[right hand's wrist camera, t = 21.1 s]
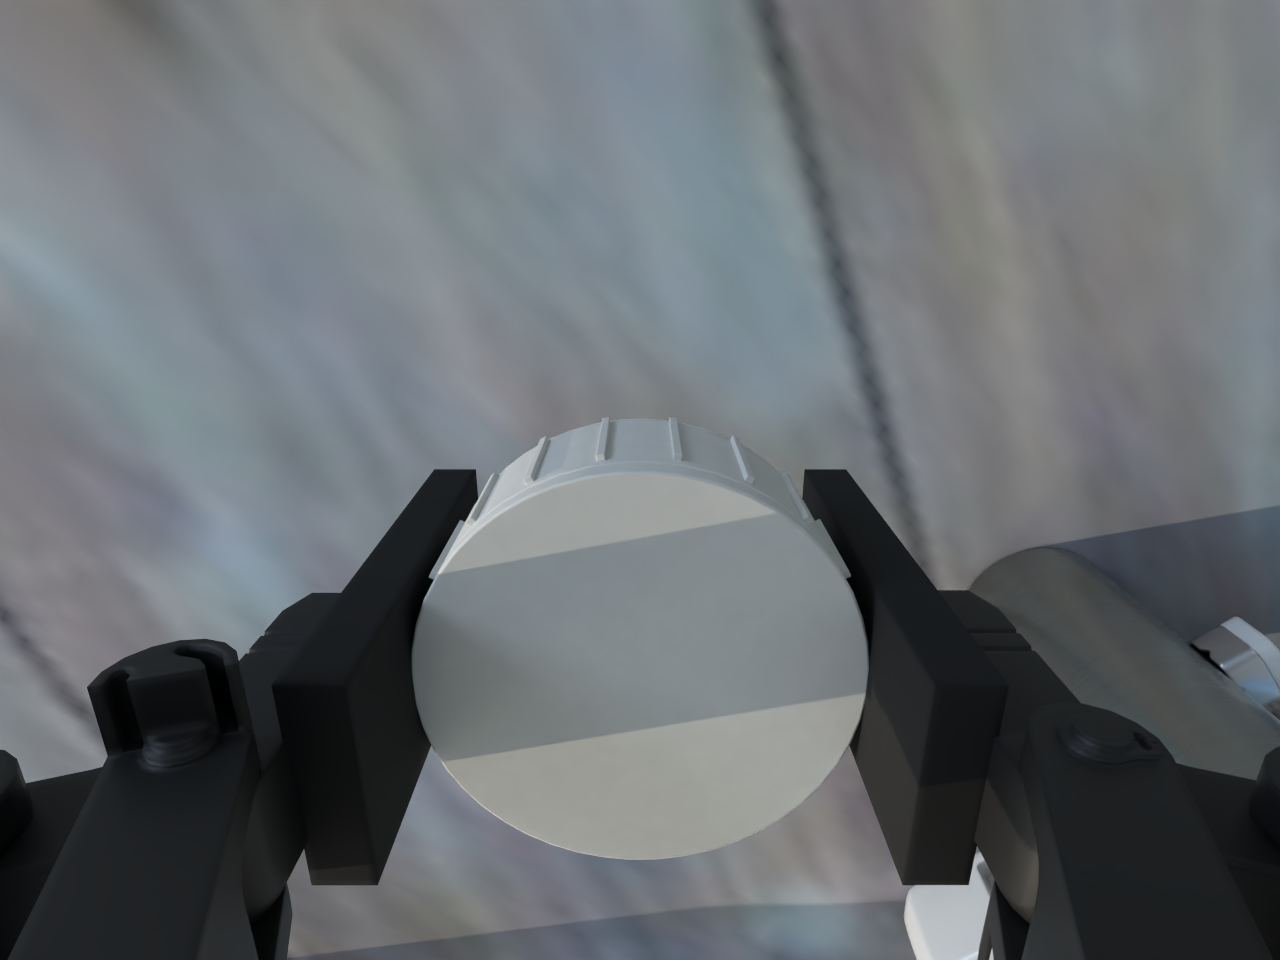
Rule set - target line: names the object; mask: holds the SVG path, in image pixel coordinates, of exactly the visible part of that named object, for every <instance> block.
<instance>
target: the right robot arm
mask: <svg viewBox="0 0 1280 960" xmlns="http://www.w3.org/2000/svg"><path fill="white" fill-rule="evenodd" d="M802 500H803V501H804V503H805V504H806V506H807V508H808V510H809V511H810V513H811V515H812V517H813V518H814V520H815V521H816V520H818V519H820V520H821V522H822V523H823V525H824V527H825V529H826V531H827V532H828V534H829V536H830V538H831V540H832V541H833V543H834V545H835V547H836V549H837V550H838V552H839V554H840V556H841V558H842V559H843V561H844V563H845V565H846V567H847V568H848V570H849V572H850V574H851V577H848V578H846V580H847V582H848V583H849V585H850V587H851V589H852V591H853V593H854V595H855V598H856V601H857V603H858V606H859V608H860V611H861V614H862V616H863V620H864V625H865V630H866V634H867V639H868V645H869V673H868V682H867V690H866V698H865V704H864V708H863V712H862V716H861V720H860V722H859V724H858V727H857V729H856V731H855V734H854V736H853V739H852V741H851V743H850V748H851V751H852V753H853V756H854V758H855V761H856V764H857V766H858V769H859V771H860V774H861V777H862V779H863V782H864V785H865V787H866V790H867V792H868V795H869V798H870V800H871V803H872V806H873V808H874V811H875V813H876V816H877V819H878V821H879V824H880V827H881V829H882V832H883V834H884V837H885V840H886V842H887V845H888V847H889V850H890V853H891V855H892V858H893V861H894V863H895V866H896V868H897V871H898V874H899V876H900V879H901V882H902V884H903V885H969V882H970V877H971V872H972V867H973V862H974V857H975V852H976V847H977V846H978V848H979V850H980V852H981V854H982V856H983V858H984V860H985V862H986V864H987V866H988V868H989V870H990V871H991V873H992V875H993V877H994V881H993V886H992V890H991V895H990V899H989V904H988V909H987V913H986V918H985V922H984V927H983V932H982V936H981V941H980V945H979V952H978V959H977V960H989V958H990V954H991V949H992V950H993V958H994V960H1280V747H1276V748H1275V749H1274V750H1272V751H1271V752H1269V753H1268V754H1267V755H1265V757H1264V760H1263V763H1262V766H1261V768H1260V771H1259V774H1258V777H1257V780H1252V779H1247V778H1243V777H1238V776H1233V775H1228V774H1223V773H1218V772H1213V771H1209V770H1204V769H1199V768H1194V767H1189V766H1186V765H1182V764H1178V763H1176V762H1175V760H1174V758H1173V756H1172V754H1171V753H1170V752H1169V751H1168V749H1167V748H1166V747H1165V746H1164V744H1163V743H1162V742H1161V741H1160V739H1159V738H1158V737H1156V736H1155V735H1153V734H1152V733H1151V732H1149V731H1148V730H1146V729H1145V728H1144V727H1142V726H1141V725H1139V724H1138V723H1136V722H1134V721H1132V720H1130V719H1128V718H1125V717H1123V716H1121V715H1119V714H1117V713H1115V712H1112V711H1110V710H1106V709H1102V708H1098V707H1095V706H1091V705H1087V704H1081V703H1080V701H1079V700H1078V699H1077V698H1076V697H1075V696H1074V695H1073V693H1072V692H1071V691H1070V690H1069V689H1068V688H1067V687H1066V685H1065V684H1064V683H1063V682H1062V681H1061V680H1060V679H1059V677H1058V676H1057V675H1056V674H1055V673H1054V672H1053V670H1052V669H1051V668H1050V667H1049V666H1048V665H1047V664H1046V662H1045V661H1044V660H1043V659H1042V658H1041V657H1040V656H1039V654H1038V653H1037V652H1036V651H1032V649H1031V647H1032V646H1031V645H1030V644H1029V643H1028V642H1027V641H1026V639H1025V638H1024V637H1023V636H1022V635H1021V634H1020V633H1017V632H1016V628H1015V627H1014V626H1013V625H1012V623H1011V622H1010V621H1009V620H1008V619H1007V618H1006V617H1005V615H1004V614H1003V613H1002V612H1001V611H1000V610H999V609H998V608H997V607H995V606H994V605H992V604H990V603H989V602H987V601H985V600H984V599H982V598H980V597H979V596H977V595H975V594H974V593H972V592H970V591H969V590H937V589H936V588H935V587H934V585H933V584H932V583H931V581H930V580H929V579H928V577H927V576H926V575H925V573H924V572H923V571H922V569H921V568H920V567H919V565H918V564H917V563H916V561H915V560H914V559H913V557H912V556H911V555H910V554H909V552H908V551H907V550H906V548H905V547H904V546H903V544H902V543H901V542H900V540H899V539H898V538H897V536H896V535H895V534H894V532H893V531H892V530H891V528H890V527H889V526H888V524H887V523H886V522H885V520H884V519H883V518H882V516H881V515H880V514H879V513H878V511H877V510H876V509H875V507H874V506H873V505H872V503H871V502H870V501H869V499H868V498H867V497H866V495H865V494H864V493H863V491H862V490H861V489H860V487H859V486H858V485H857V483H856V482H855V481H854V479H853V478H852V477H851V475H850V474H849V473H848V472H847V470H805V473H804V485H803V498H802ZM477 501H478V491H477V479H476V470H434V471H433V472H432V473H431V475H430V476H429V477H428V479H427V480H426V481H425V483H424V484H423V485H422V487H421V488H420V489H419V491H418V492H417V493H416V495H415V496H414V497H413V499H412V500H411V501H410V503H409V504H408V505H407V507H406V508H405V509H404V511H403V512H402V513H401V515H400V516H399V517H398V518H397V520H396V521H395V522H394V524H393V525H392V526H391V528H390V529H389V530H388V532H387V533H386V534H385V536H384V537H383V538H382V540H381V541H380V542H379V544H378V545H377V546H376V548H375V549H374V550H373V552H372V553H371V554H370V556H369V557H368V558H367V559H366V561H365V562H364V563H363V565H362V566H361V567H360V569H359V570H358V571H357V573H356V574H355V575H354V577H353V578H352V579H351V581H350V582H349V583H348V585H347V586H346V587H345V589H344V590H343V591H342V593H311V594H310V595H308V596H306V597H305V598H303V599H301V600H300V601H298V602H296V603H295V604H293V605H291V606H290V607H288V608H287V609H285V610H283V611H282V612H281V613H280V615H279V616H278V617H277V618H276V619H275V620H274V621H273V623H272V624H271V625H270V626H269V627H268V628H267V630H266V631H265V635H264V636H261V637H260V638H259V639H258V640H257V641H256V642H255V643H254V645H253V646H252V647H251V648H250V652H249V654H245V655H244V656H243V657H242V658H241V660H240V661H239V660H238V656H237V651H236V650H234V649H233V648H232V647H230V646H229V645H228V644H226V643H225V642H219V641H214V640H209V639H196V640H180V641H175V642H171V643H167V644H162V645H158V646H154V647H150V648H148V649H145V650H143V651H140V652H138V653H135V654H133V655H130V656H128V657H125V658H123V659H122V660H120V661H119V662H117V663H115V664H114V665H112V666H110V667H109V668H107V669H105V670H104V671H102V672H101V673H100V674H99V675H98V676H97V677H96V678H95V679H94V680H93V682H92V683H91V684H90V685H89V686H88V687H87V689H88V692H89V696H90V699H91V702H92V705H93V709H94V712H95V715H96V719H97V722H98V725H99V728H100V732H101V735H102V738H103V742H104V745H105V748H106V751H107V755H108V757H107V759H106V761H105V763H104V765H103V767H100V768H97V769H93V770H88V771H84V772H79V773H74V774H69V775H64V776H59V777H55V778H50V779H45V780H40V781H35V782H30V783H25V780H24V778H23V775H22V772H21V769H20V766H19V764H18V761H17V759H16V758H15V757H13V756H12V755H11V754H9V753H8V752H6V751H5V750H0V960H287V952H288V944H289V937H290V929H291V921H292V908H291V900H290V895H289V890H288V886H287V880H288V878H289V876H290V875H291V873H292V871H293V869H294V867H295V865H296V863H297V861H298V859H299V857H300V855H301V853H302V851H303V849H305V854H306V859H307V864H308V869H309V874H310V879H311V884H312V885H378V883H379V880H380V878H381V875H382V872H383V870H384V867H385V864H386V862H387V859H388V857H389V854H390V851H391V849H392V846H393V844H394V841H395V838H396V836H397V833H398V830H399V828H400V825H401V823H402V820H403V817H404V815H405V812H406V809H407V807H408V804H409V802H410V799H411V796H412V794H413V791H414V788H415V786H416V783H417V781H418V778H419V775H420V773H421V770H422V768H423V765H424V762H425V760H426V757H427V754H428V752H429V749H430V747H431V743H430V741H429V739H428V737H427V735H426V732H425V730H424V728H423V726H422V723H421V720H420V716H419V713H418V710H417V706H416V700H415V692H414V684H413V676H412V665H411V649H412V643H413V637H414V631H415V625H416V622H417V619H418V616H419V613H420V610H421V607H422V604H423V601H424V598H425V596H426V594H427V592H428V590H429V588H430V587H431V585H432V583H433V581H434V580H433V579H431V578H429V575H430V573H431V571H432V569H433V568H434V566H435V564H436V562H437V560H438V559H439V557H440V555H441V553H442V552H443V550H444V548H445V546H446V544H447V543H448V541H449V539H450V537H451V535H452V534H453V532H454V530H455V528H456V527H457V525H458V523H459V521H460V520H462V521H464V522H465V521H466V520H467V518H468V516H469V514H470V512H471V510H472V509H473V507H474V505H475V504H476V502H477Z"/></svg>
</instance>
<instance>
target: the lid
mask: <svg viewBox="0 0 1280 960" xmlns="http://www.w3.org/2000/svg"><path fill="white" fill-rule="evenodd" d="M848 577H851V574H850V572H849V570H848V568H847V567H846V565H845V563H844V561H843V559H842V558H841V556H840V554H839V552H838V550H837V549H836V547H835V545H834V543H833V541H832V540H831V538H830V536H829V534H828V532H827V531H826V529H825V527H824V525H823V523H822V522H821V520H820V519H818V520H816V521H815V520H814V518H813V517H812V515H811V513H810V511H809V510H808V508H807V506H806V504H805V503H804V501H803V500H802V498H801V497H800V495H799V493H798V491H797V489H796V487H795V485H794V484H793V482H792V480H791V478H790V476H789V475H788V474H787V473H786V472H785V471H784V472H783V473H782V474H780V473H779V472H778V471H777V470H776V469H775V468H774V467H773V466H772V465H771V464H769V463H768V462H767V461H765V460H764V459H763V458H761V457H760V456H758V455H757V454H756V453H754V452H753V451H752V450H750V449H748V448H747V447H745V446H743V445H741V443H740V440H739V438H737V437H735V436H732V437H731V439H730V438H728V437H726V436H723V435H720V434H718V433H715V432H713V431H710V430H707V429H705V428H702V427H697V426H693V425H689V424H685V423H681V422H677V418H674V417H669V421H667V420H658V419H620V420H613V421H610V417H606V418H603V419H602V422H599V423H594V424H591V425H587V426H584V427H580V428H576V429H573V430H570V431H567V432H565V433H563V434H560V435H558V436H556V437H553V438H551V439H548V438H547V436H545V437H543V438H541V439H540V441H539V444H538V446H536V447H534V448H533V449H531V450H529V451H528V452H526V453H524V454H523V455H522V456H521V457H519V458H518V459H517V460H515V461H514V462H513V463H512V464H510V465H509V466H508V467H507V468H505V469H504V470H503V471H502V472H501V473H500V474H499V475H498V474H497V473H496V472H494V473H493V474H492V475H491V477H490V478H489V480H488V482H487V484H486V486H485V488H484V489H483V491H482V493H481V495H480V497H479V499H478V501H477V502H476V504H475V505H474V507H473V509H472V510H471V512H470V514H469V516H468V518H467V520H466V521H465V522H464V521H462V520H460V521H459V523H458V525H457V527H456V528H455V530H454V532H453V534H452V535H451V537H450V539H449V541H448V543H447V544H446V546H445V548H444V550H443V552H442V553H441V555H440V557H439V559H438V560H437V562H436V564H435V566H434V568H433V569H432V571H431V573H430V575H429V578H431V579H433V580H434V581H433V583H432V585H431V587H430V588H429V590H428V592H427V594H426V596H425V598H424V601H423V604H422V607H421V610H420V613H419V616H418V619H417V622H416V625H415V631H414V637H413V643H412V649H411V665H412V676H413V684H414V692H415V700H416V706H417V710H418V713H419V716H420V720H421V723H422V726H423V728H424V730H425V732H426V735H427V737H428V739H429V741H430V743H431V745H432V747H433V749H434V751H435V752H436V754H437V755H438V757H439V758H440V760H441V762H442V763H443V765H444V766H445V768H446V769H447V771H448V772H449V773H450V774H451V775H452V776H453V777H454V779H455V780H456V781H457V782H458V783H459V784H460V786H461V787H462V788H463V789H464V790H465V791H466V792H467V793H468V794H469V795H470V796H472V797H473V798H474V799H475V800H476V801H477V802H478V803H479V804H480V805H482V806H483V807H484V808H485V809H487V810H488V811H490V812H491V813H492V814H494V815H495V816H497V817H498V818H500V819H501V820H502V821H504V822H506V823H507V824H509V825H511V826H513V827H515V828H516V829H518V830H520V831H522V832H524V833H525V834H527V835H530V836H532V837H535V838H537V839H539V840H542V841H544V842H547V843H549V844H551V845H555V846H558V847H561V848H565V849H568V850H571V851H575V852H579V853H584V854H589V855H594V856H600V857H607V858H618V859H629V860H636V859H664V858H673V857H682V856H687V855H692V854H697V853H701V852H706V851H710V850H713V849H717V848H720V847H723V846H726V845H729V844H732V843H735V842H737V841H740V840H742V839H744V838H746V837H748V836H751V835H753V834H755V833H757V832H760V831H761V830H763V829H765V828H766V827H768V826H770V825H771V824H773V823H775V822H777V821H778V820H780V819H782V818H783V817H784V816H786V815H787V814H788V813H790V812H791V811H792V810H794V809H795V808H796V807H798V806H799V805H800V804H802V803H803V802H804V801H805V800H806V799H807V798H808V797H809V796H810V795H811V794H812V793H813V792H814V791H815V790H816V789H818V788H819V787H820V786H821V785H822V783H823V782H824V781H825V780H826V778H827V777H828V776H829V775H830V773H831V772H832V771H833V770H834V768H835V767H836V766H837V765H838V763H839V761H840V760H841V758H842V756H843V755H844V753H845V751H846V750H847V748H848V747H849V745H850V743H851V741H852V739H853V736H854V734H855V731H856V729H857V727H858V724H859V722H860V720H861V716H862V712H863V708H864V704H865V698H866V690H867V682H868V673H869V645H868V639H867V634H866V630H865V625H864V620H863V616H862V614H861V611H860V608H859V606H858V603H857V601H856V598H855V595H854V593H853V591H852V589H851V587H850V585H849V583H848V582H847V580H846V578H848Z"/></svg>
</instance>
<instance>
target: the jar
mask: <svg viewBox="0 0 1280 960" xmlns="http://www.w3.org/2000/svg"><path fill="white" fill-rule="evenodd" d="M969 591H970V592H972V593H974V594H975V595H977V596H979V597H980V598H982V599H984V600H985V601H987V602H989V603H990V604H992V605H994V606H995V607H997V608H998V609H999V610H1000V611H1001V612H1002V613H1003V614H1004V615H1005V617H1006V618H1007V619H1008V620H1009V621H1010V622H1011V623H1012V625H1013V626H1014V627H1015V628H1016V632H1017V633H1020V634H1021V635H1022V636H1023V637H1024V638H1025V639H1026V641H1027V642H1028V643H1029V644H1030V645H1031V646H1032V647H1031V649H1032V651H1036V652H1037V653H1038V654H1039V656H1040V657H1041V658H1042V659H1043V660H1044V661H1045V662H1046V664H1047V665H1048V666H1049V667H1050V668H1051V669H1052V670H1053V672H1054V673H1055V674H1056V675H1057V676H1058V677H1059V679H1060V680H1061V681H1062V682H1063V683H1064V684H1065V685H1066V687H1067V688H1068V689H1069V690H1070V691H1071V692H1072V693H1073V695H1074V696H1075V697H1076V698H1077V699H1078V700H1079V701H1080V703H1081V704H1087V705H1091V706H1095V707H1098V708H1102V709H1106V710H1110V711H1112V712H1115V713H1117V714H1119V715H1121V716H1123V717H1125V718H1128V719H1130V720H1132V721H1134V722H1136V723H1138V724H1139V725H1141V726H1142V727H1144V728H1145V729H1146V730H1148V731H1149V732H1151V733H1152V734H1153V735H1155V736H1156V737H1158V738H1159V739H1160V741H1161V742H1162V743H1163V744H1164V746H1165V747H1166V748H1167V749H1168V751H1169V752H1170V753H1171V754H1172V756H1173V758H1174V760H1175V762H1176V763H1178V764H1182V765H1186V766H1189V767H1194V768H1199V769H1204V770H1209V771H1213V772H1218V773H1223V774H1228V775H1233V776H1238V777H1243V778H1247V779H1252V780H1257V777H1258V774H1259V771H1260V768H1261V766H1262V763H1263V760H1264V757H1265V755H1267V754H1268V753H1269V752H1271V751H1272V750H1274V749H1275V748H1276V747H1280V720H1279V719H1278V718H1277V717H1275V716H1274V715H1273V714H1272V713H1271V712H1269V711H1268V710H1267V709H1266V708H1265V707H1263V706H1262V705H1261V704H1260V703H1259V702H1257V701H1256V700H1255V699H1254V698H1253V697H1251V696H1250V695H1249V694H1248V693H1247V692H1245V691H1244V690H1243V689H1242V688H1241V687H1239V686H1238V685H1237V684H1236V683H1235V682H1233V681H1232V680H1231V679H1230V678H1229V677H1227V676H1226V675H1225V674H1224V673H1223V672H1221V671H1220V670H1219V669H1218V668H1217V667H1215V666H1214V665H1213V664H1212V663H1211V662H1209V661H1208V660H1207V659H1206V658H1205V657H1203V656H1202V655H1201V654H1200V653H1199V652H1197V651H1196V650H1195V649H1194V648H1193V647H1191V646H1190V645H1189V644H1188V643H1187V642H1185V641H1184V640H1183V639H1182V638H1181V637H1179V636H1178V635H1177V634H1176V633H1175V632H1173V631H1172V630H1171V629H1170V628H1169V627H1167V626H1166V625H1165V624H1164V623H1163V622H1161V621H1160V620H1159V619H1158V618H1157V617H1155V616H1154V615H1153V614H1152V613H1150V612H1149V611H1148V610H1147V609H1146V608H1144V607H1143V606H1142V605H1141V604H1140V603H1138V602H1137V601H1136V600H1135V599H1134V598H1132V597H1131V596H1130V595H1129V594H1128V593H1126V592H1125V591H1124V590H1123V589H1122V588H1120V587H1119V586H1118V585H1117V584H1116V583H1114V582H1113V581H1112V580H1111V579H1110V578H1108V577H1107V576H1106V575H1105V574H1104V573H1102V572H1101V571H1100V570H1099V569H1098V568H1096V567H1095V566H1094V565H1093V564H1092V563H1090V562H1089V561H1088V560H1086V559H1085V558H1083V557H1082V556H1080V555H1078V554H1076V553H1073V552H1070V551H1067V550H1062V549H1056V548H1036V549H1029V550H1025V551H1021V552H1018V553H1015V554H1013V555H1010V556H1008V557H1006V558H1004V559H1002V560H1000V561H999V562H997V563H995V564H994V565H992V566H991V567H990V568H989V569H987V570H986V571H985V572H984V573H983V574H982V575H981V576H980V577H979V578H978V579H977V580H976V581H975V583H974V584H973V585H972V586H971V588H970V590H969Z"/></svg>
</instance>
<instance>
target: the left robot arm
mask: <svg viewBox="0 0 1280 960" xmlns="http://www.w3.org/2000/svg"><path fill="white" fill-rule="evenodd" d="M1189 645H1190V646H1191V647H1193V648H1194V649H1195V650H1196V651H1197V652H1199V653H1200V654H1201V655H1202V656H1203V657H1205V658H1206V659H1207V660H1208V661H1209V662H1211V663H1212V664H1213V665H1214V666H1215V667H1217V668H1218V669H1219V670H1220V671H1221V672H1223V673H1224V674H1225V675H1226V676H1227V677H1229V678H1230V679H1231V680H1232V681H1233V682H1235V683H1236V684H1237V685H1238V686H1239V687H1241V688H1242V689H1243V690H1244V691H1245V692H1247V693H1248V694H1249V695H1250V696H1251V697H1253V698H1254V699H1255V700H1256V701H1257V702H1259V703H1260V704H1261V705H1262V706H1263V707H1265V708H1266V709H1267V710H1268V711H1269V712H1271V713H1272V714H1273V715H1274V716H1275V717H1277V718H1278V719H1279V720H1280V650H1279V649H1278V648H1277V647H1276V646H1275V644H1274V643H1273V642H1272V641H1271V640H1270V639H1268V638H1267V637H1266V636H1265V635H1264V634H1262V633H1261V632H1259V631H1258V630H1256V629H1255V628H1254V627H1252V626H1251V625H1249V624H1248V623H1247V622H1245V621H1244V620H1242V619H1241V618H1240V617H1236V616H1234V617H1233V618H1231V619H1229V620H1228V621H1226V622H1224V623H1222V624H1221V625H1218V626H1216V627H1215V628H1213V629H1211V630H1209V631H1208V632H1206V633H1204V634H1203V635H1201V636H1199V637H1197V638H1196V639H1194V640H1192V641H1190V642H1189ZM993 881H994V877H993V875H992V873H991V871H990V870H989V868H988V866H987V864H986V862H985V860H984V858H983V856H982V854H981V852H980V851H979V852H978V853H976V854H975V857H974V862H973V867H972V872H971V877H970V882H969V885H914V886H913V887H912V888H911V889H910V890H909V892H908V895H907V899H906V905H905V912H904V920H905V925H906V928H907V932H908V935H909V939H910V942H911V944H912V947H913V950H914V953H915V956H916V958H917V960H977V959H978V952H979V945H980V941H981V936H982V932H983V927H984V922H985V918H986V913H987V909H988V904H989V899H990V895H991V890H992V886H993ZM989 960H994V958H993V950H992V949H991V954H990V958H989Z"/></svg>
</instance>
